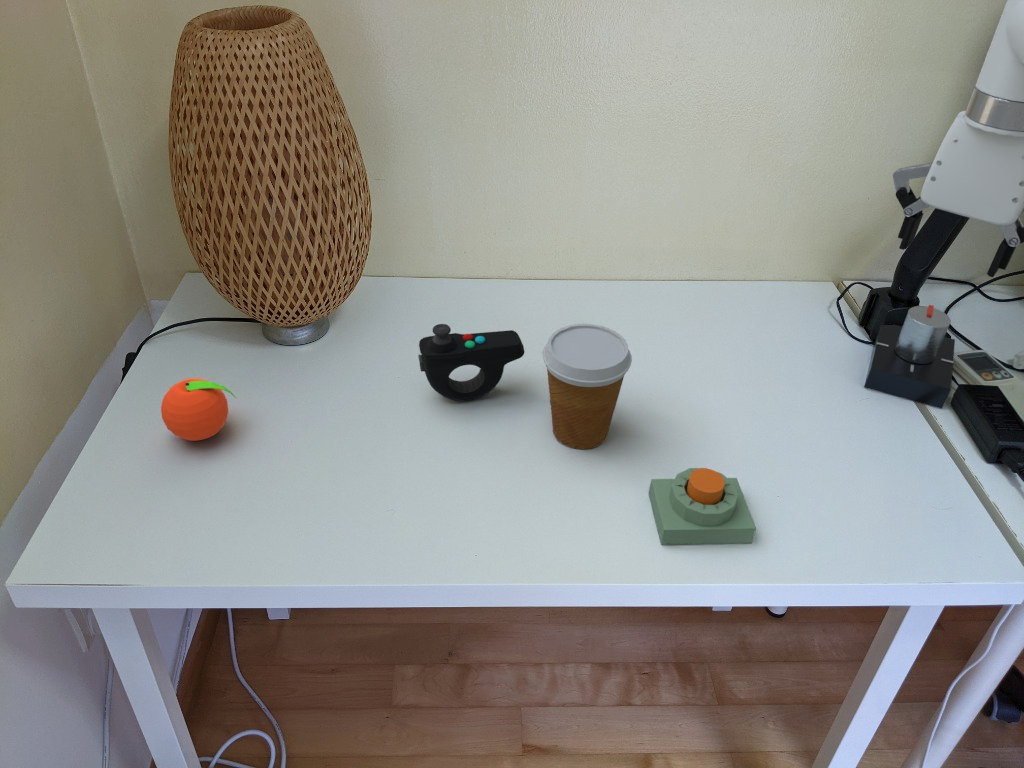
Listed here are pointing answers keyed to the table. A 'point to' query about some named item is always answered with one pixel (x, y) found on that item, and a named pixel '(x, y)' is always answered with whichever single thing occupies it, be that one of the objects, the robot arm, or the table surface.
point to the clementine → (195, 409)
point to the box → (699, 513)
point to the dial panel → (909, 371)
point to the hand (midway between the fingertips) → (948, 258)
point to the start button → (705, 486)
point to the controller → (467, 360)
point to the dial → (922, 334)
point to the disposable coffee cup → (584, 381)
